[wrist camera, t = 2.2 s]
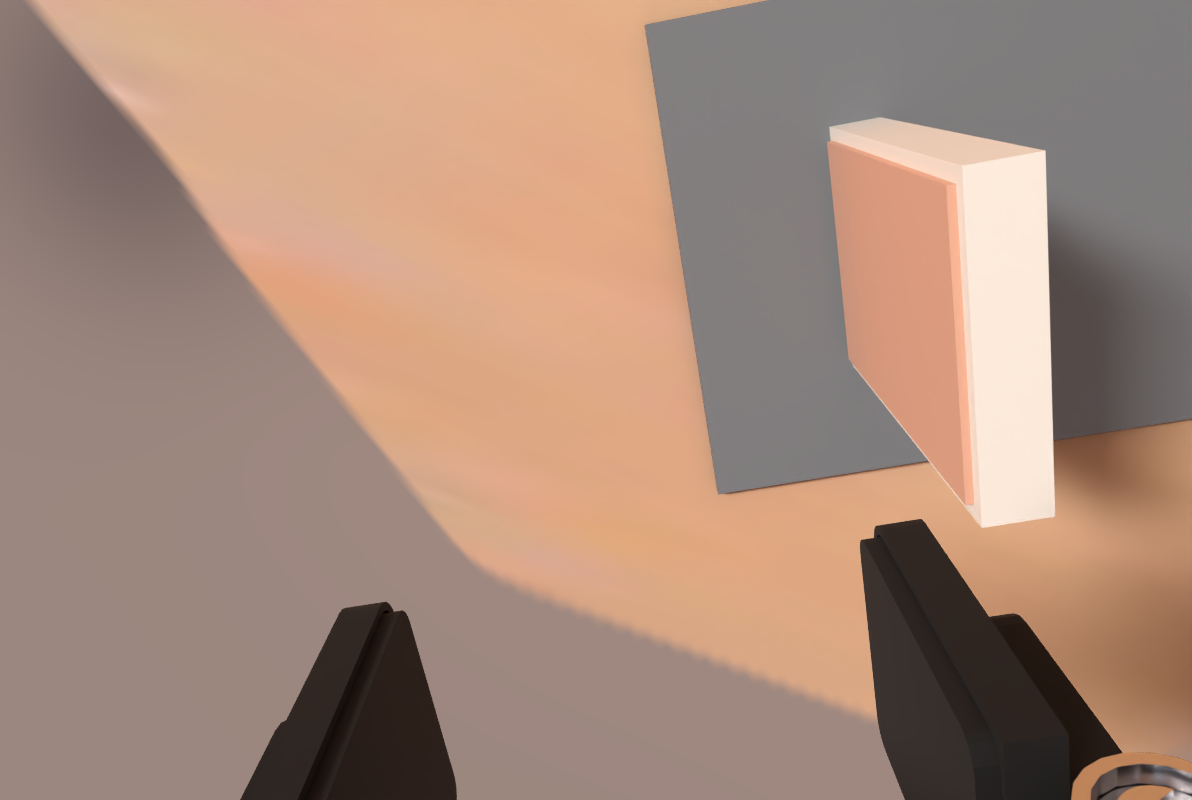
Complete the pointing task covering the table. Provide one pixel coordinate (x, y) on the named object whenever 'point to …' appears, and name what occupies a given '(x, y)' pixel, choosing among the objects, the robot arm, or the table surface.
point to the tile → (952, 303)
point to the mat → (943, 101)
